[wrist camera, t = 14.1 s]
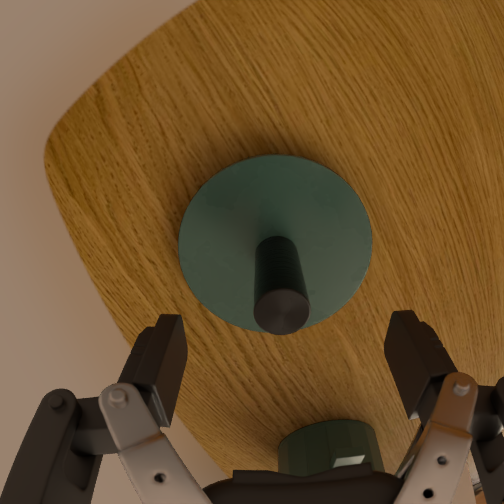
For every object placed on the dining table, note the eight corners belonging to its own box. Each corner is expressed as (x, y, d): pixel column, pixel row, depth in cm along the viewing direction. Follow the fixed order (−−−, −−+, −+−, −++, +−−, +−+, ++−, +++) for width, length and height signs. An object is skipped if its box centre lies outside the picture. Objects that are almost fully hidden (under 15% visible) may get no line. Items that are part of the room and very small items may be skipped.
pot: (275, 477, 33) (276, 522, 27) (281, 406, 26) (284, 470, 20) (357, 470, 32) (365, 512, 26) (393, 396, 26) (413, 453, 20)
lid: (192, 321, 22) (173, 395, 16) (173, 155, 17) (129, 184, 11) (354, 319, 22) (380, 390, 16) (374, 154, 17) (430, 183, 11)
